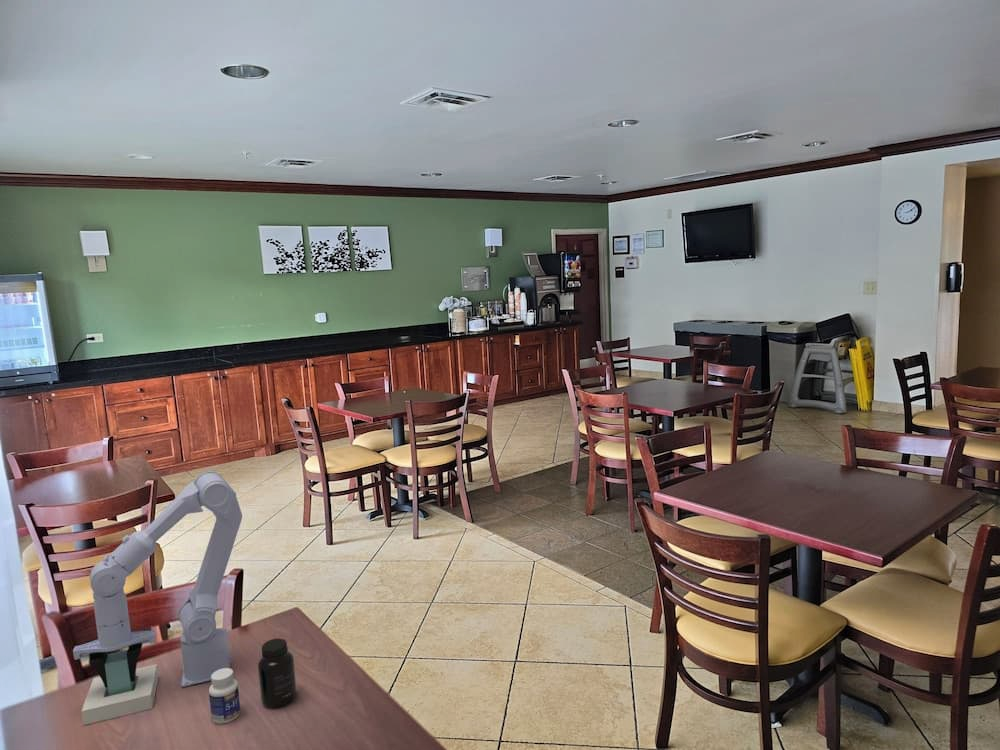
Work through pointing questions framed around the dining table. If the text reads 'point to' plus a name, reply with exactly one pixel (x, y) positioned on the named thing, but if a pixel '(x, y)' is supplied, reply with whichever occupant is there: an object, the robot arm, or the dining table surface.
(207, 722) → the dining table surface
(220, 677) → the pill bottle
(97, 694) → the socket block
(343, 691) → the dining table surface
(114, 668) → the peg
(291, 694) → the supplement bottle
